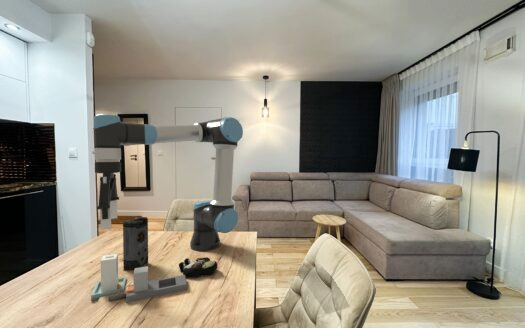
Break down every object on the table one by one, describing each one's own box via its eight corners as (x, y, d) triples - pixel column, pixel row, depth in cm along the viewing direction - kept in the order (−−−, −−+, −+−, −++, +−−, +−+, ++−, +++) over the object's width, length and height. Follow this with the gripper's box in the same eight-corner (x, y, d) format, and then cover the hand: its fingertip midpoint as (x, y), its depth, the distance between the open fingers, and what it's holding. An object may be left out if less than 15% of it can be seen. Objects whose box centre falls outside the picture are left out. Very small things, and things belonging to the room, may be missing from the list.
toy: (189, 254, 103) (220, 248, 99) (194, 272, 102) (225, 266, 98) (171, 267, 91) (205, 261, 87) (176, 287, 90) (211, 282, 86)
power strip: (184, 282, 88) (184, 258, 87) (187, 292, 81) (186, 266, 81) (111, 297, 78) (110, 270, 78) (107, 310, 72) (106, 280, 72)
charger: (118, 284, 85) (117, 253, 85) (116, 290, 81) (116, 258, 81) (103, 286, 84) (103, 255, 83) (101, 293, 80) (100, 260, 79)
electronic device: (134, 273, 95) (133, 222, 94) (121, 271, 96) (120, 222, 95) (150, 262, 104) (149, 217, 103) (138, 261, 105) (137, 216, 104)
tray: (126, 281, 88) (126, 276, 88) (123, 294, 80) (123, 289, 80) (97, 286, 85) (97, 281, 85) (91, 300, 76) (91, 295, 76)
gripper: (102, 160, 91) (103, 215, 92) (84, 162, 68) (87, 236, 69) (125, 160, 94) (126, 213, 95) (115, 161, 71) (117, 232, 72)
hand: (109, 223), depth 82 cm, fingers open, 13 cm apart
